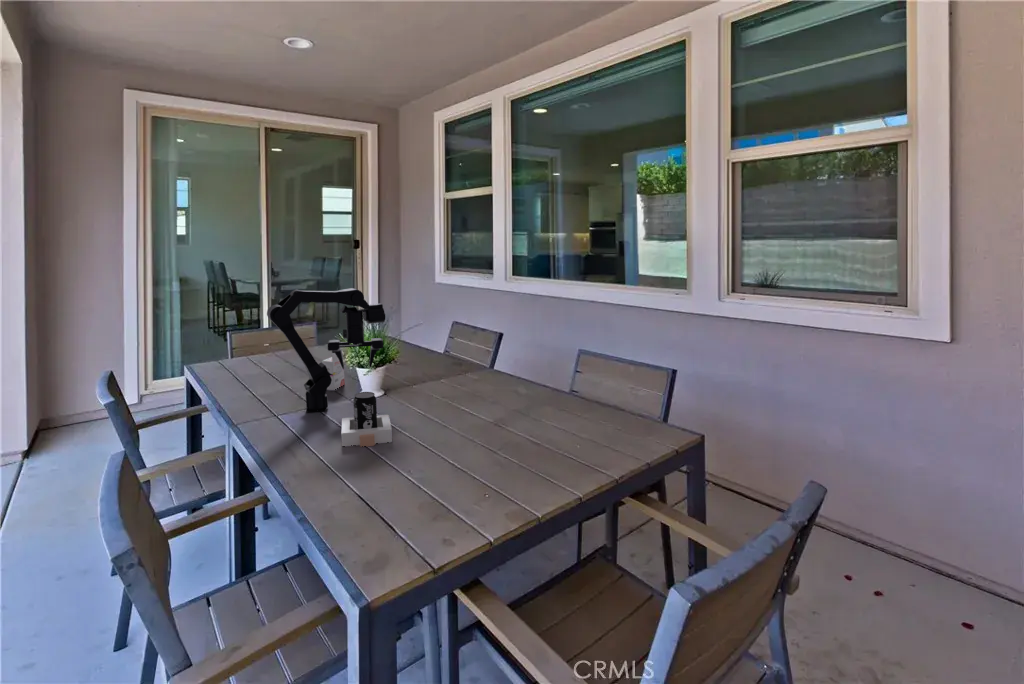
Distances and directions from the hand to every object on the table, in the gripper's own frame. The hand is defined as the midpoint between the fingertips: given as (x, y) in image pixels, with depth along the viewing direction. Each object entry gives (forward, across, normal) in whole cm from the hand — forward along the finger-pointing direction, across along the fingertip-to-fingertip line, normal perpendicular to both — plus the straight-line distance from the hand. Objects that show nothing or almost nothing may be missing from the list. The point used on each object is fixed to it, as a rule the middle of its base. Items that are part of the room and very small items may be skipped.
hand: (356, 368), depth 196 cm
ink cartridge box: (+13, +9, -24) cm, 29 cm away
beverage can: (+12, -2, +35) cm, 37 cm away
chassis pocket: (+13, -2, +35) cm, 37 cm away
